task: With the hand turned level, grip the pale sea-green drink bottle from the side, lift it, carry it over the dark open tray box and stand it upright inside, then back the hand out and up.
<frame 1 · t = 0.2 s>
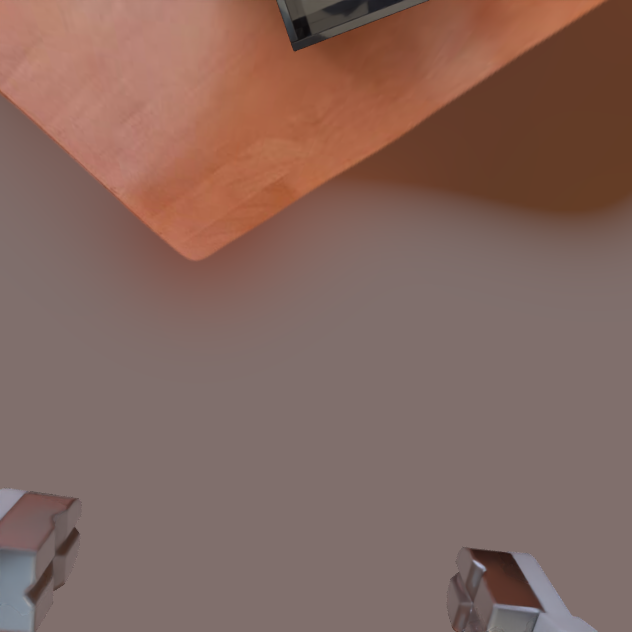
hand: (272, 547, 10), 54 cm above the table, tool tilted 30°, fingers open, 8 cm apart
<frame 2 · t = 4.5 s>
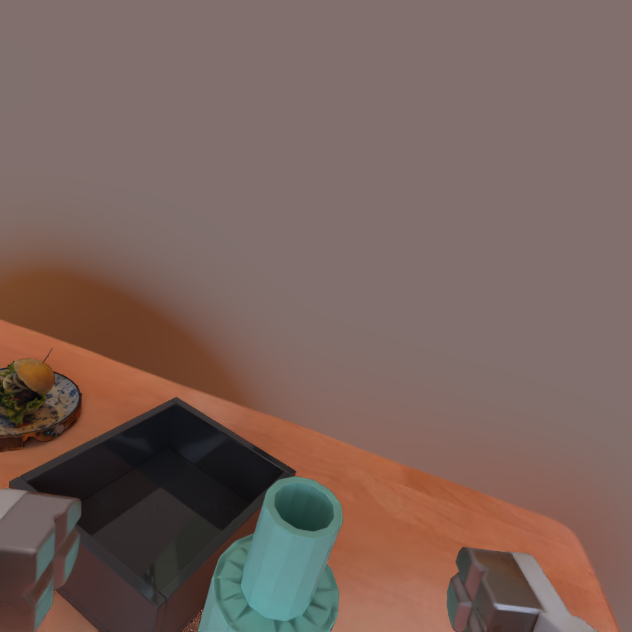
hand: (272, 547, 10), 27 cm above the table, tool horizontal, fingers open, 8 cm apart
plate with bun salad: (17, 413, 49), on the table
dark open tray box: (158, 532, 41), on the table
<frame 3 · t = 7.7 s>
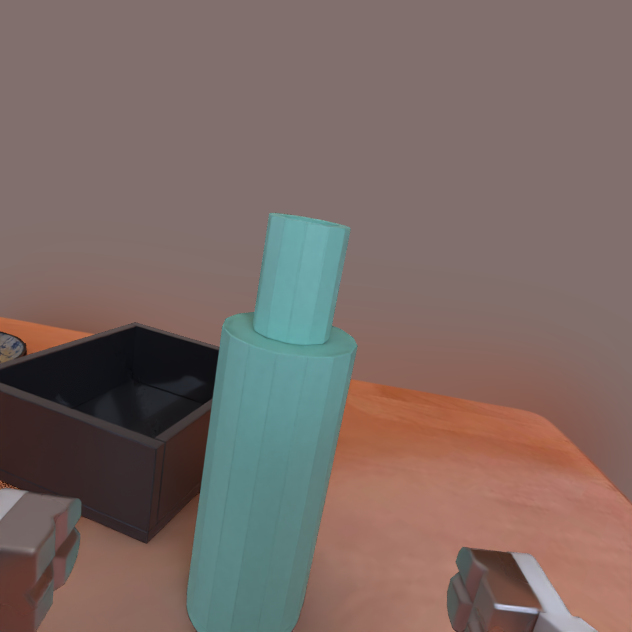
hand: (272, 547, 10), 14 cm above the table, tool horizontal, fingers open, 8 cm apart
dark open tray box: (136, 442, 37), on the table
bottle: (244, 599, 25), on the table
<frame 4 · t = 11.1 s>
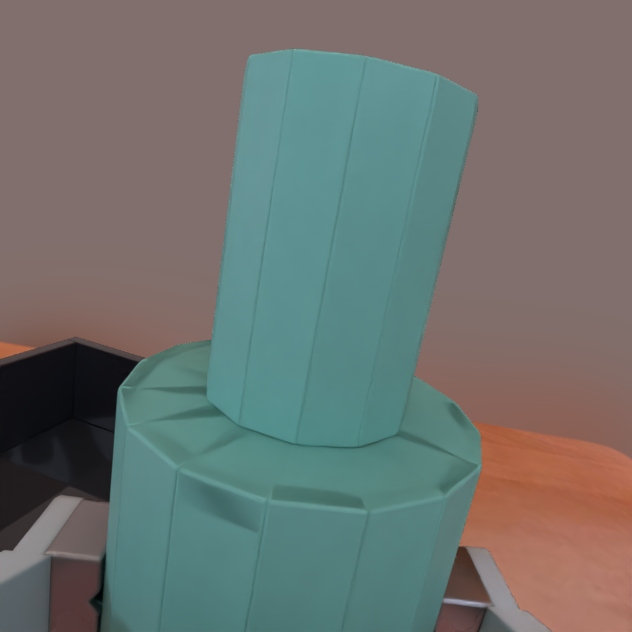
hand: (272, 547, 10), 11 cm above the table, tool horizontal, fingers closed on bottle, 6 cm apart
dark open tray box: (58, 526, 24), on the table
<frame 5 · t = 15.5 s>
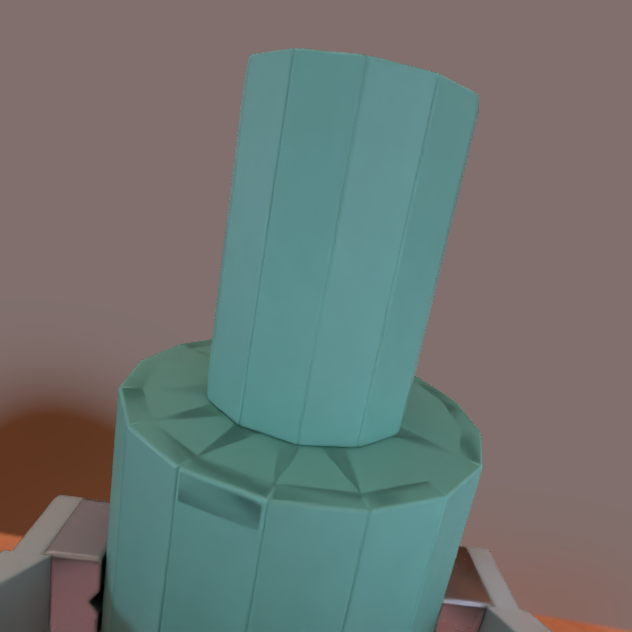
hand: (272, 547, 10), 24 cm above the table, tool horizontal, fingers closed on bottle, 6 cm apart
when the fingers open (12 cm above the table, at t = 19.9 s): bottle stays where it is, resting on dark open tray box.
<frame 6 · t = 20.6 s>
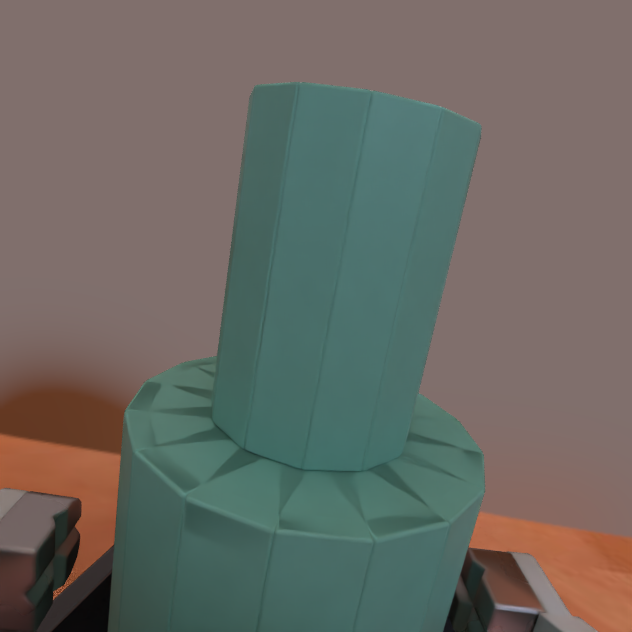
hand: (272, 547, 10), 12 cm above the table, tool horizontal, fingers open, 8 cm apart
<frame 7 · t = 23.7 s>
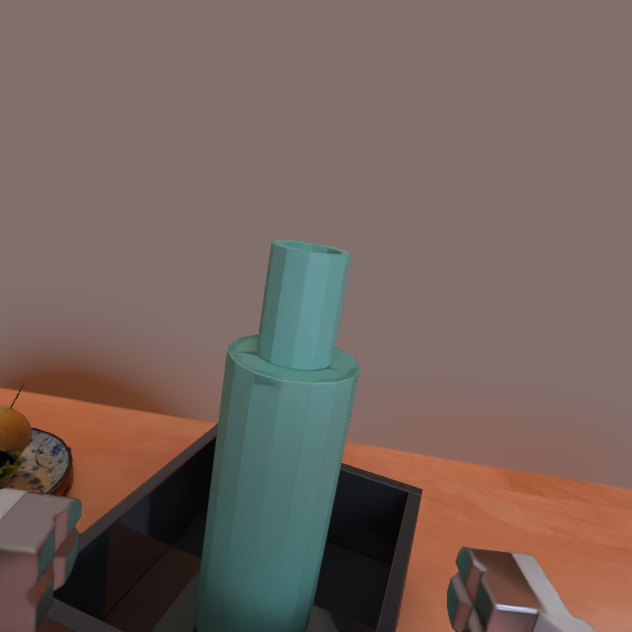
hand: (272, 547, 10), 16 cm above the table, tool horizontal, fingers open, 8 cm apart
dark open tray box: (247, 627, 26), on the table
bottle: (252, 616, 26), point 1 cm above the table, touching dark open tray box
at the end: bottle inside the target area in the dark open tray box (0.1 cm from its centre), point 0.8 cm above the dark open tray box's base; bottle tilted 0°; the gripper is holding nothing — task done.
